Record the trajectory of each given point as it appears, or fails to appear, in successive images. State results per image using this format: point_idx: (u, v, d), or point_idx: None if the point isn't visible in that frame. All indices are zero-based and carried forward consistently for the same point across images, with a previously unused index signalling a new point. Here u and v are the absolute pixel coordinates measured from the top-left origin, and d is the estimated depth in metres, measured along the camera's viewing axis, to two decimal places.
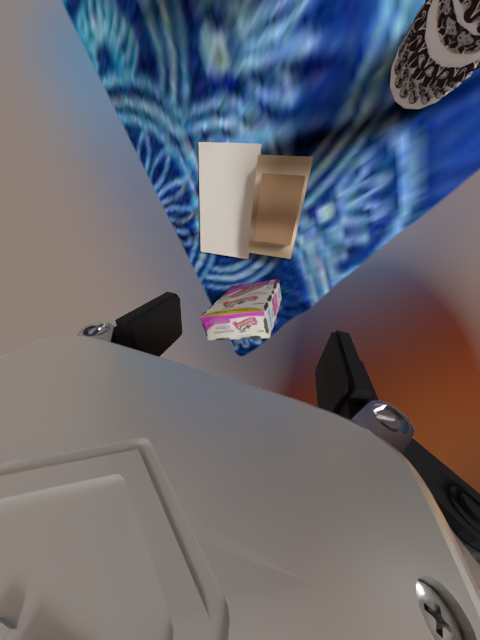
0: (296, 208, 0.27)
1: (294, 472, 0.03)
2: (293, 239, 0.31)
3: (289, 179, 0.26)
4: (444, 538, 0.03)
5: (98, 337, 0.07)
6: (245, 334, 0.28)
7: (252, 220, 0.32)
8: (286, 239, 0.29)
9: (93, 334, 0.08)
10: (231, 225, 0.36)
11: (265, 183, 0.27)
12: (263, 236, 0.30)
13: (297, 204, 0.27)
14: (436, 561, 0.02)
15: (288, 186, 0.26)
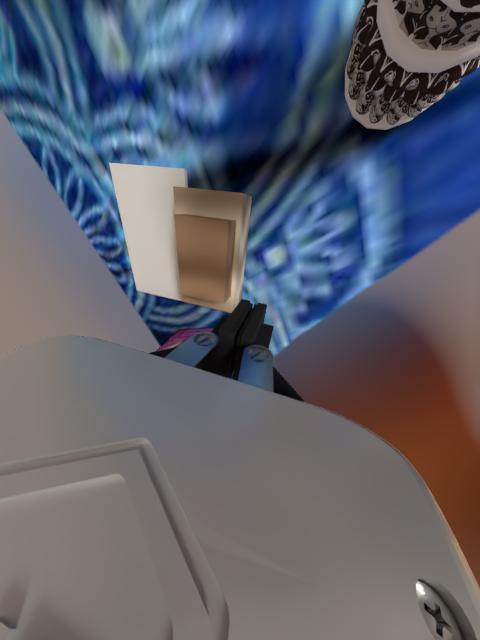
0: (224, 261, 0.20)
1: (294, 472, 0.03)
2: (233, 291, 0.24)
3: (209, 224, 0.18)
4: (444, 538, 0.03)
5: (199, 348, 0.07)
6: None
7: None
8: (218, 296, 0.22)
9: (200, 342, 0.08)
10: (166, 264, 0.29)
11: (180, 227, 0.19)
12: (191, 290, 0.23)
13: (224, 256, 0.20)
14: (436, 561, 0.02)
15: (209, 233, 0.19)
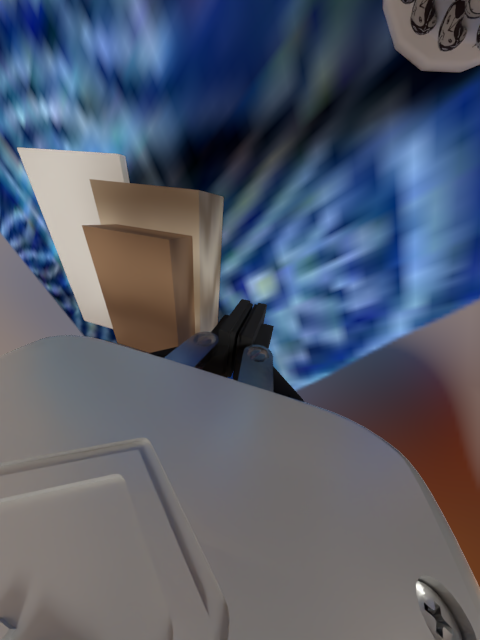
0: (171, 303, 0.12)
1: (294, 472, 0.03)
2: None
3: (139, 244, 0.11)
4: (444, 538, 0.03)
5: (199, 348, 0.07)
6: None
7: None
8: None
9: (200, 342, 0.08)
10: None
11: (96, 247, 0.12)
12: (130, 340, 0.15)
13: (171, 296, 0.12)
14: (436, 561, 0.02)
15: (142, 258, 0.11)
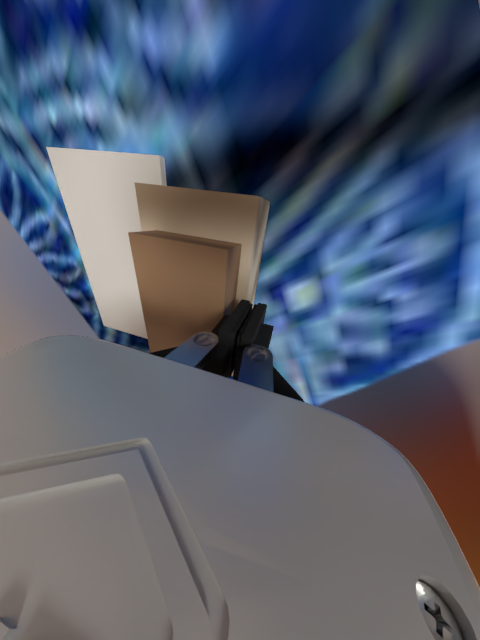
0: (219, 315, 0.11)
1: (294, 472, 0.03)
2: None
3: (191, 253, 0.10)
4: (444, 538, 0.03)
5: (199, 348, 0.07)
6: None
7: None
8: None
9: (200, 342, 0.08)
10: None
11: (141, 255, 0.11)
12: None
13: (220, 308, 0.11)
14: (436, 561, 0.02)
15: (192, 268, 0.10)
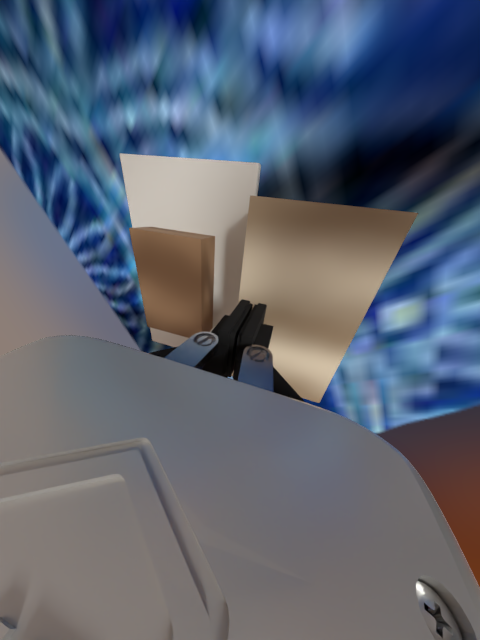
0: None
1: (294, 472, 0.03)
2: (329, 375, 0.14)
3: None
4: (444, 538, 0.03)
5: (199, 348, 0.07)
6: None
7: None
8: None
9: (200, 342, 0.08)
10: None
11: None
12: None
13: None
14: (436, 561, 0.02)
15: None
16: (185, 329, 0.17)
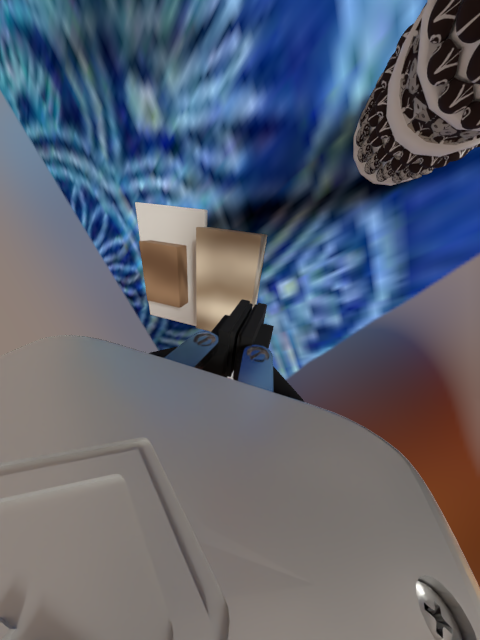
0: None
1: (294, 472, 0.03)
2: None
3: None
4: (444, 538, 0.03)
5: (199, 348, 0.07)
6: None
7: (198, 295, 0.26)
8: None
9: (200, 342, 0.08)
10: None
11: None
12: None
13: None
14: (436, 561, 0.02)
15: None
16: (170, 300, 0.29)
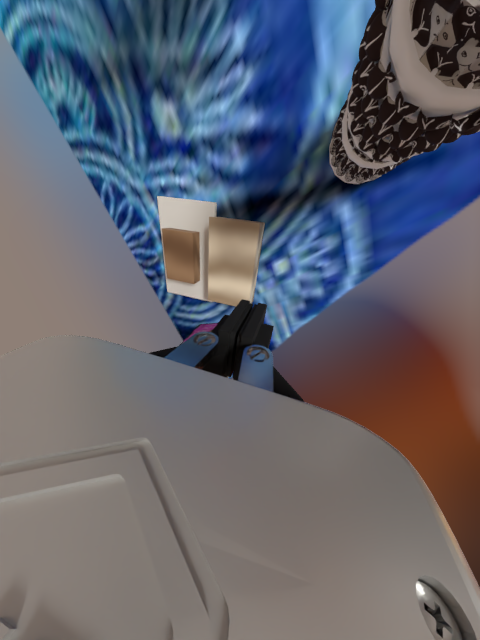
0: None
1: (294, 472, 0.03)
2: (249, 292, 0.32)
3: None
4: (444, 538, 0.03)
5: (199, 348, 0.07)
6: None
7: (209, 272, 0.32)
8: None
9: (200, 342, 0.08)
10: None
11: None
12: None
13: None
14: (436, 561, 0.02)
15: None
16: (186, 277, 0.35)
